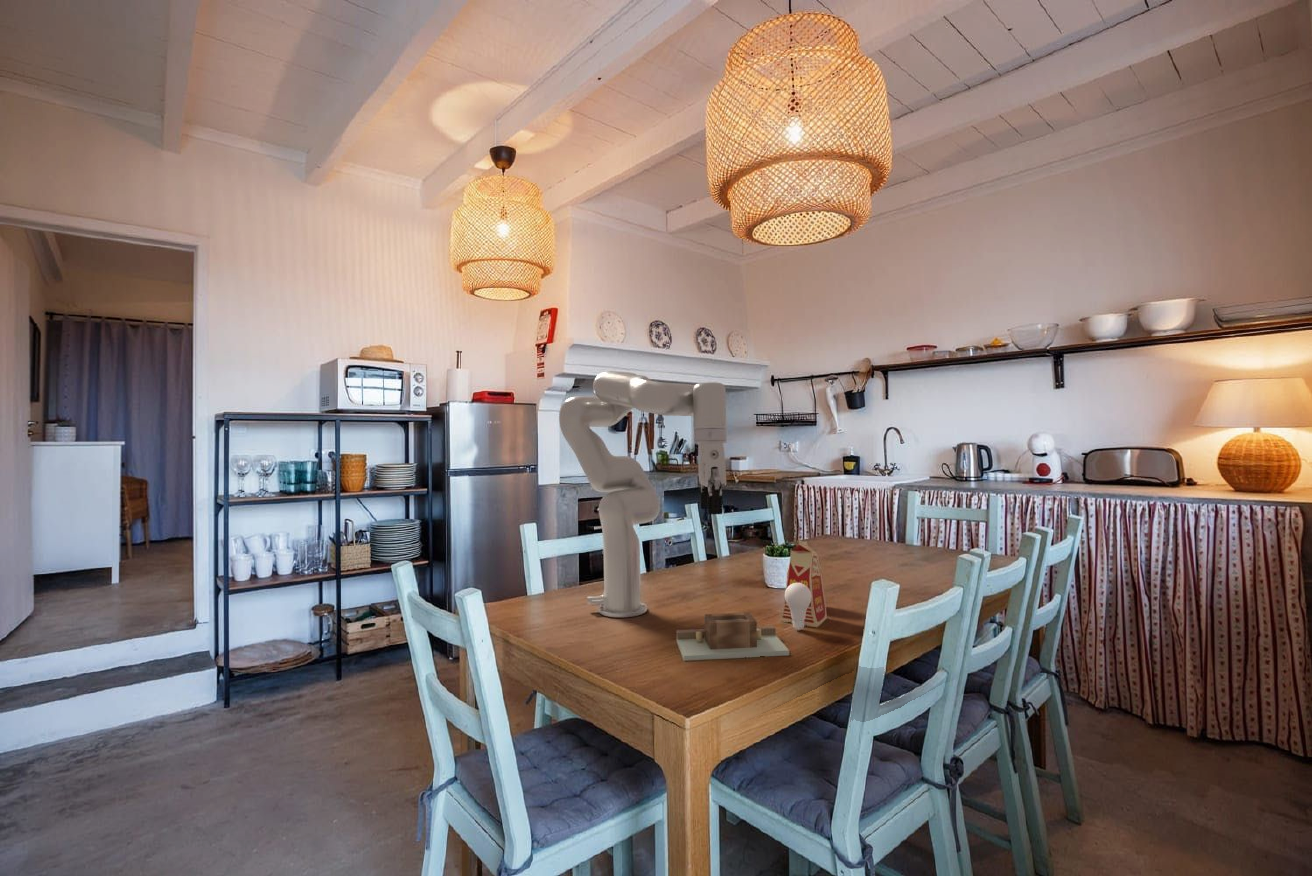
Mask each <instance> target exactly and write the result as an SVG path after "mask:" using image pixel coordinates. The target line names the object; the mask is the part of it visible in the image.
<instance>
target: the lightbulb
mask: <svg viewBox="0 0 1312 876" xmlns="http://www.w3.org/2000/svg"><path fill="white" fill-rule="evenodd" d="M811 598H812V595H811V592H810V590H809V588H808V587H807V586H806V585H804V584H802V583H793V584H791V585H789V586H788V587H787V589H786V588H785V591H784V599H785V600H786V602H787V604H788V606H789V608H790V611H791V617H792V619H793V623H792V627H793V629H795V630H796V631H801V630H803V629H804V628H805V625H804V620H805V615H806V610H807V608H808V606H809V604H810V602H811Z"/></svg>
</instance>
